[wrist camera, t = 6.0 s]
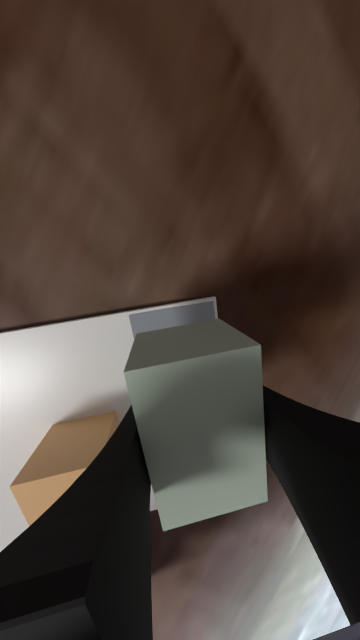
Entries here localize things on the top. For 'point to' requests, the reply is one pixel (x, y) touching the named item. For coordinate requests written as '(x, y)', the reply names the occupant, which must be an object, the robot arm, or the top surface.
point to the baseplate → (69, 382)
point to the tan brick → (60, 461)
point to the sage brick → (199, 419)
